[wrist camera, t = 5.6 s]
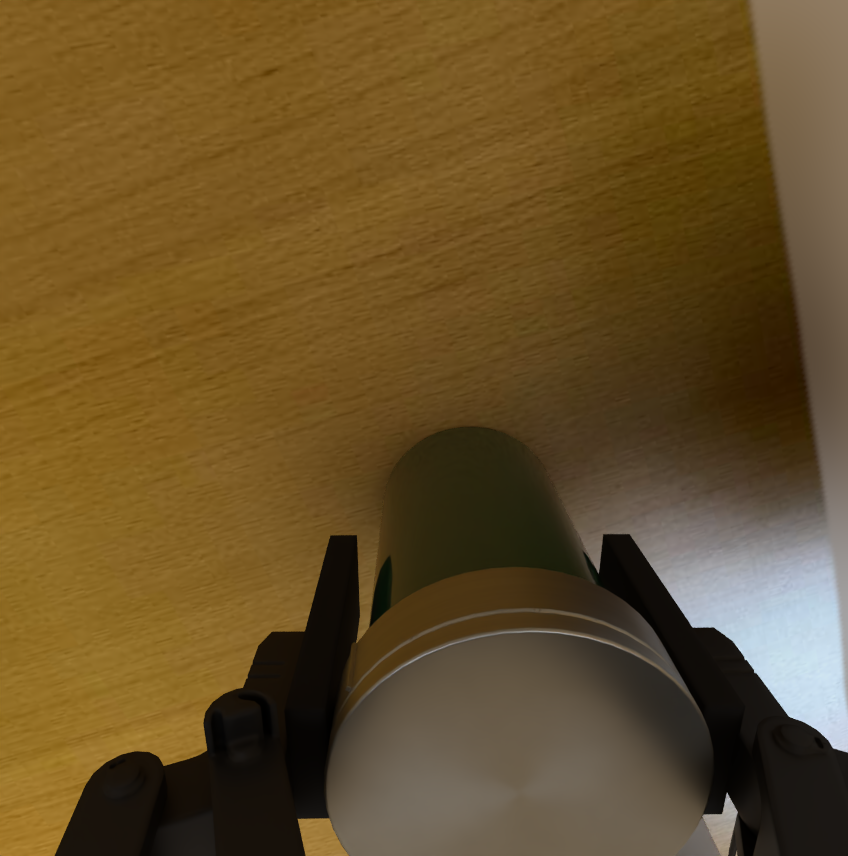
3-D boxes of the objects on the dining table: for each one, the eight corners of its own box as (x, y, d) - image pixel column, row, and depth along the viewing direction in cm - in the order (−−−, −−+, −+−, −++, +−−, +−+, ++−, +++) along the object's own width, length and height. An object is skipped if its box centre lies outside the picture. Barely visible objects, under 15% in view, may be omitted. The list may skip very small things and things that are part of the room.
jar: (423, 399, 20) (431, 577, 10) (583, 464, 21) (729, 686, 11) (358, 545, 22) (311, 816, 12) (507, 600, 23) (576, 894, 13)
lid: (275, 757, 13) (253, 844, 11) (444, 502, 11) (449, 557, 9) (548, 871, 14) (567, 965, 13) (743, 660, 12) (798, 735, 11)
